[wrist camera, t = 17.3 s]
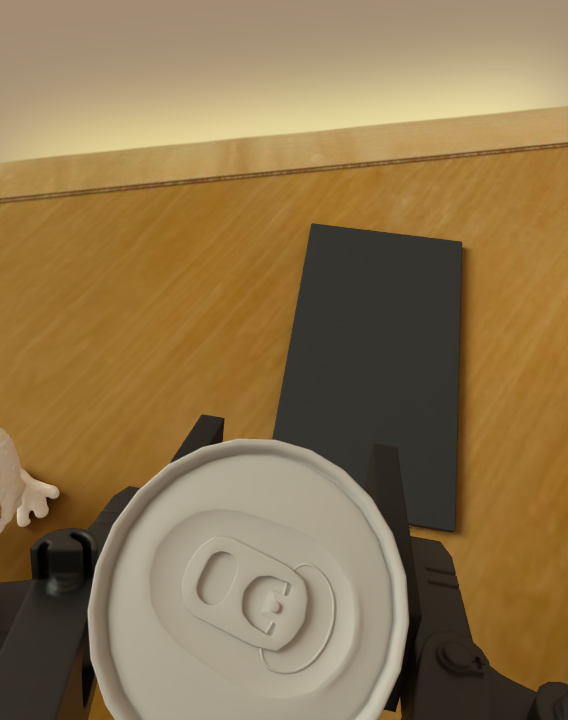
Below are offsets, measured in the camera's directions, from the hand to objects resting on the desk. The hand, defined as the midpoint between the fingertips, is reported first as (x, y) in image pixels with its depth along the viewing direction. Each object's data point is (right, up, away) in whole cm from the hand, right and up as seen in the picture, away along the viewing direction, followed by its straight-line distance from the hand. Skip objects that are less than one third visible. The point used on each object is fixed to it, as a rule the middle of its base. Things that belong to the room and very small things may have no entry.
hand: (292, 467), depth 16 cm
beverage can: (-1, -5, +2) cm, 5 cm away
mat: (+6, +4, +19) cm, 21 cm away
